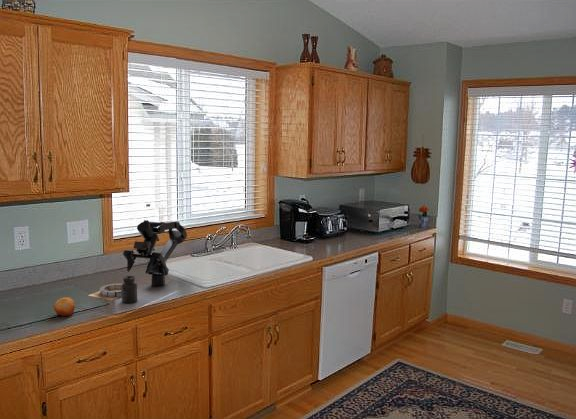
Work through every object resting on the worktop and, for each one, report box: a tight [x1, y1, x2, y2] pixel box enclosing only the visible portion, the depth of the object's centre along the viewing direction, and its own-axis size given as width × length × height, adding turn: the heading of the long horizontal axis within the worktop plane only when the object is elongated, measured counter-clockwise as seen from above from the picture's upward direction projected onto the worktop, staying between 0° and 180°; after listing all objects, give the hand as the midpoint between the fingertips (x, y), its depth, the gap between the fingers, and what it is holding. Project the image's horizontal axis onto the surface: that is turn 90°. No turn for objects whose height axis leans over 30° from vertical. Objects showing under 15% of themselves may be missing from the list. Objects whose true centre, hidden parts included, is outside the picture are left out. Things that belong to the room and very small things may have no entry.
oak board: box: [87, 288, 139, 301], centre depth 239 cm, size 18×14×1 cm
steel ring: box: [99, 283, 123, 298], centre depth 238 cm, size 14×14×2 cm
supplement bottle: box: [121, 275, 139, 305], centre depth 227 cm, size 7×7×12 cm
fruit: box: [52, 296, 76, 317], centre depth 211 cm, size 8×8×8 cm
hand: (136, 272), depth 232 cm, fingers open, 9 cm apart
